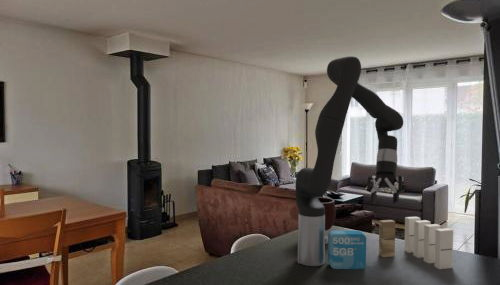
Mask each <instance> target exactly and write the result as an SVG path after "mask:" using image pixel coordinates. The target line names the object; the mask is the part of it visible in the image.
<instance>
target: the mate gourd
mask: <svg viewBox="0 0 500 285" xmlns="http://www.w3.org/2000/svg"><path fill="white" fill-rule="evenodd" d="M317 197H318V199H319V201H320V202H321V203H322V204H323V205H324V207H325V232H326V231H329V230H330V229H332V227H333V226H334V224H335V221H336V216H337V214H336V212H337V209H336V204H335V199H333V198H331V197H323V196H317ZM326 245H327V246H328V235H326V234H325V246H326Z"/></svg>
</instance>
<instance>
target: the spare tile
mask: <svg viewBox="0 0 500 285" xmlns="http://www.w3.org/2000/svg"><path fill="white" fill-rule="evenodd" d="M378 224H379V225H378V226H379V227H378V229H379V230H378V255H379V257H381V258H387V257H389V258H390V257H396V256H395V255H396V253H395V252H396V251H395V250H396V221H395V220H393V219H383V220H382V219H381V220H380V219H379V223H378Z"/></svg>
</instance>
